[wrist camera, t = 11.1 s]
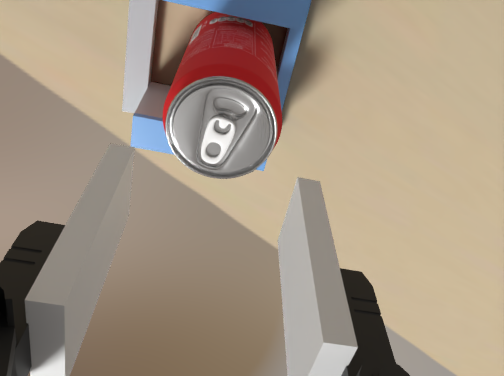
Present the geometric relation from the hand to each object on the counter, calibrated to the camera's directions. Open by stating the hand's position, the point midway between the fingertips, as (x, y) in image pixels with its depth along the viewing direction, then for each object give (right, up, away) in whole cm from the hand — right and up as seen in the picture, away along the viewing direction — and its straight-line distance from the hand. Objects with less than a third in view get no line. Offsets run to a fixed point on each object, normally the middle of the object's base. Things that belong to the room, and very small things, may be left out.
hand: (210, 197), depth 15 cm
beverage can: (0, +9, +14) cm, 17 cm away
